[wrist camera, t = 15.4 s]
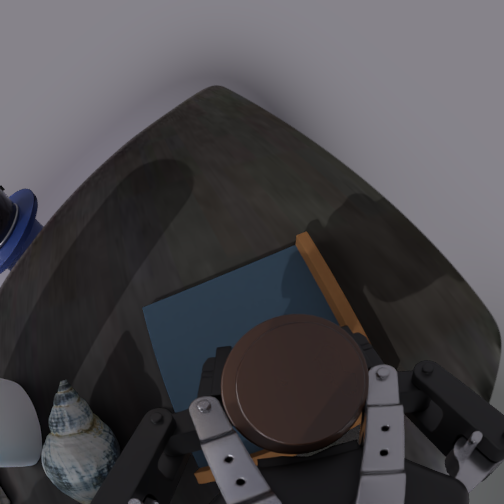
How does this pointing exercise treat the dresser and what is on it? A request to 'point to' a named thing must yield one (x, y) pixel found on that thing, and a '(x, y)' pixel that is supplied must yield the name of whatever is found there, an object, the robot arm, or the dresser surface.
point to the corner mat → (240, 320)
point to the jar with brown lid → (294, 384)
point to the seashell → (77, 446)
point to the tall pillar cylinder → (18, 427)
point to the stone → (3, 498)
